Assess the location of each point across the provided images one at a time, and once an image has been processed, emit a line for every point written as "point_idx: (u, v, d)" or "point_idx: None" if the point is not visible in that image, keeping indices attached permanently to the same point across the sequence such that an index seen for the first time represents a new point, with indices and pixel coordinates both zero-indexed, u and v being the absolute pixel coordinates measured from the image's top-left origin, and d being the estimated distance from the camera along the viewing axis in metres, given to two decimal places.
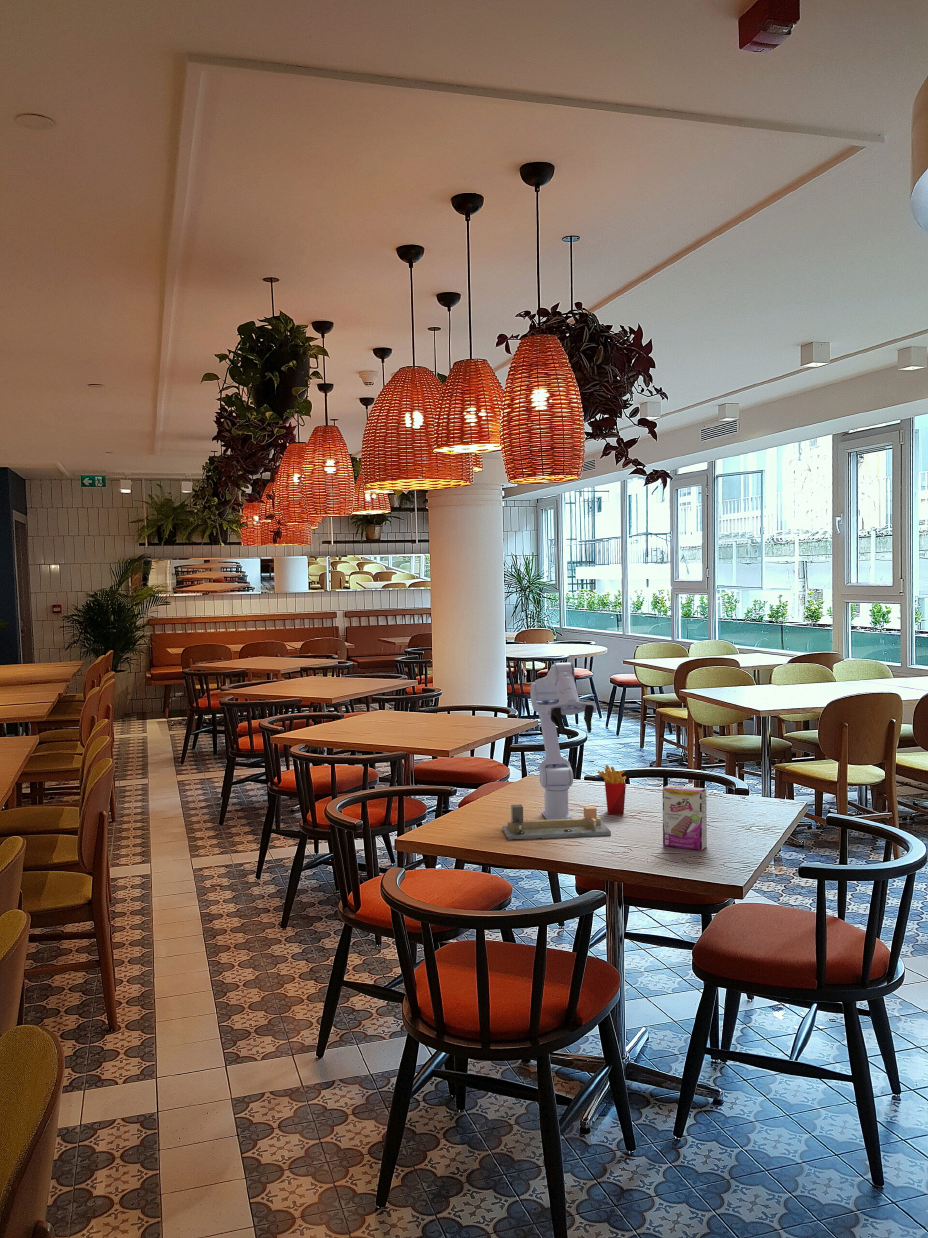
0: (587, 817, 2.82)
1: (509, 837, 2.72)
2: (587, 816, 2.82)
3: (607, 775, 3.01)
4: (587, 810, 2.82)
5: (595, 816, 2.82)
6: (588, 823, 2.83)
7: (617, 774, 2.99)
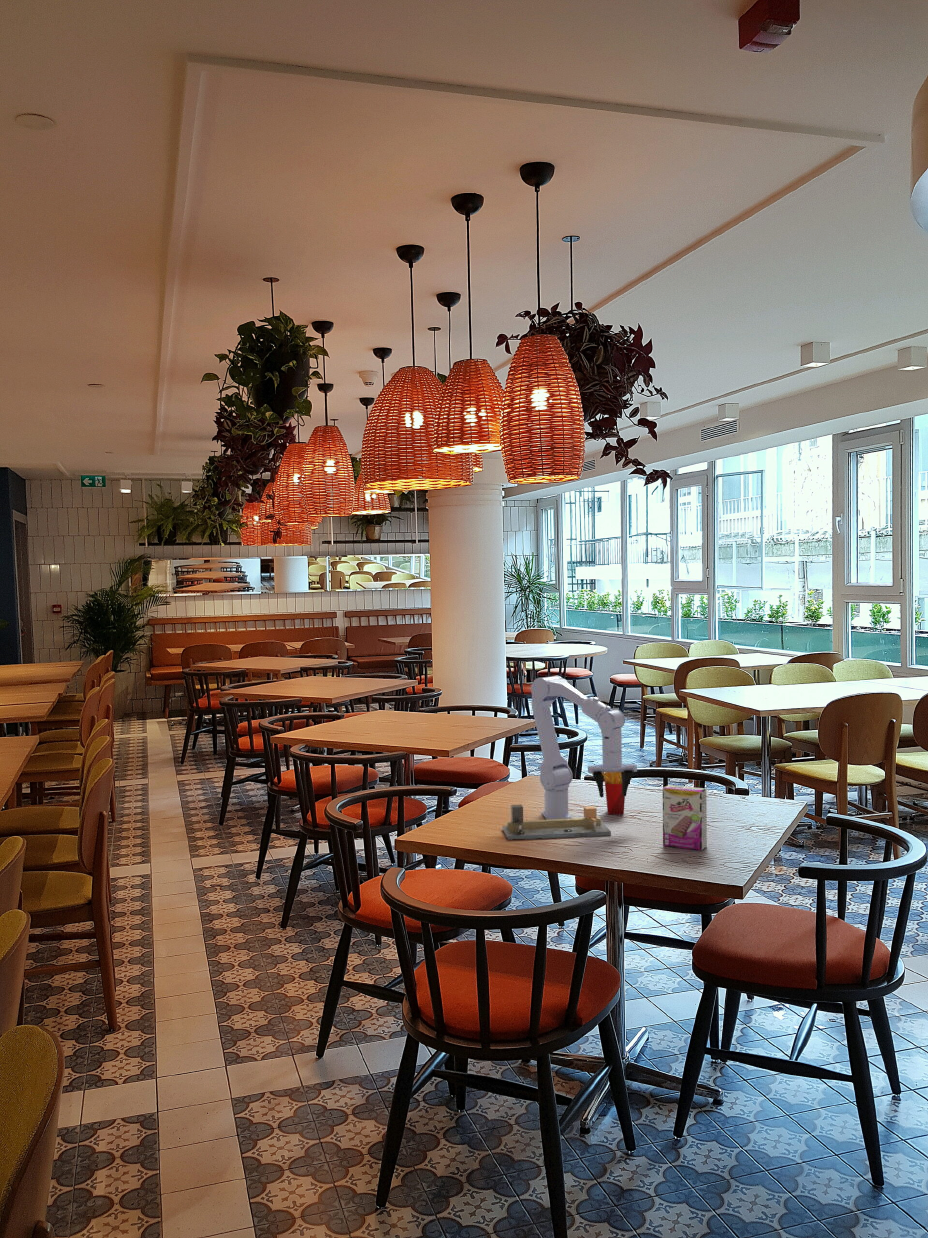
0: (587, 817, 2.82)
1: (509, 837, 2.72)
2: (587, 816, 2.82)
3: (607, 775, 3.01)
4: (587, 810, 2.82)
5: (595, 816, 2.82)
6: (588, 823, 2.83)
7: (617, 774, 2.99)
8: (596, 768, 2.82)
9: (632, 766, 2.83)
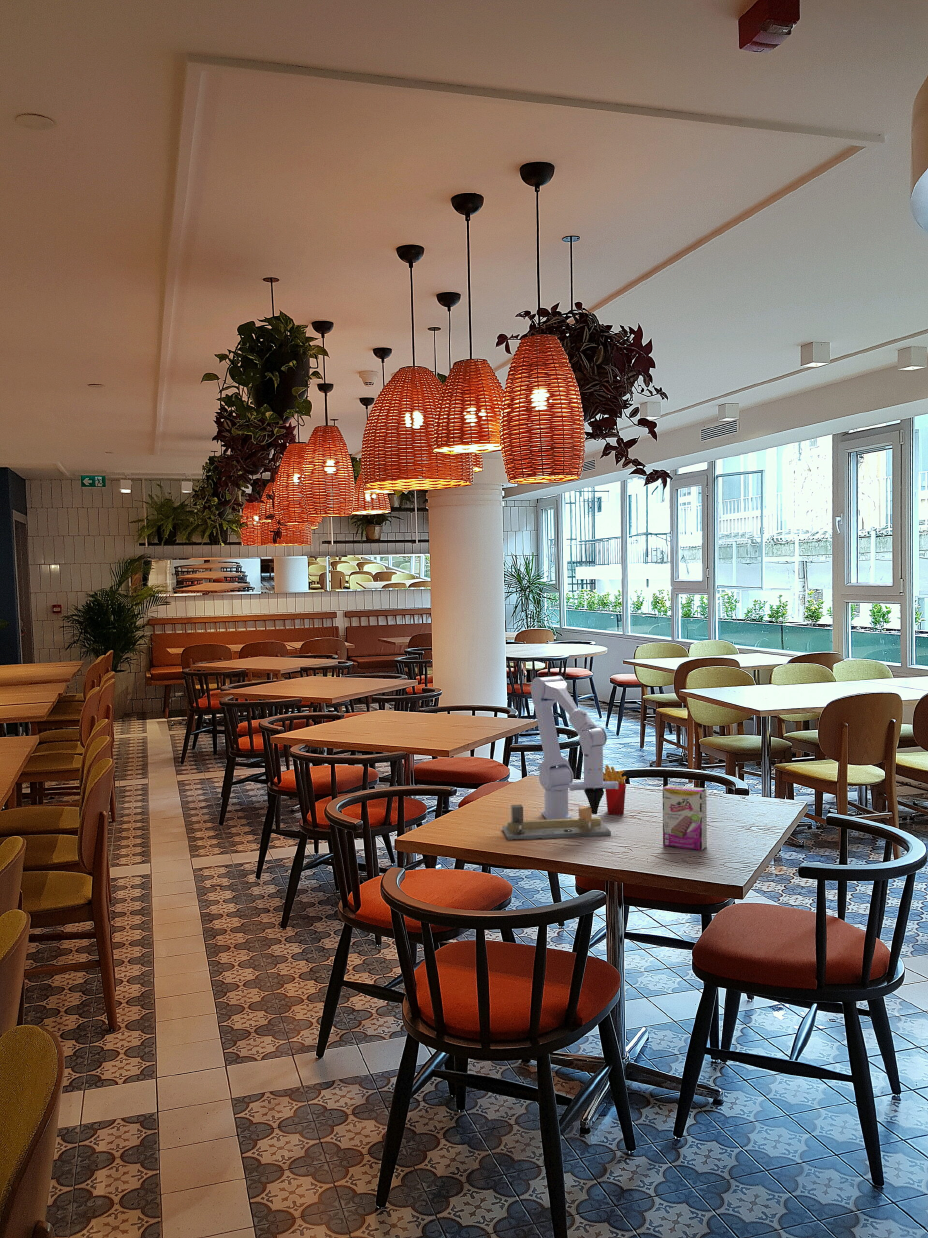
0: (582, 817, 2.82)
1: (509, 837, 2.72)
2: (582, 816, 2.82)
3: (607, 775, 3.01)
4: (582, 810, 2.82)
5: (590, 816, 2.82)
6: None
7: (617, 774, 2.99)
8: (577, 786, 2.82)
9: (613, 784, 2.83)
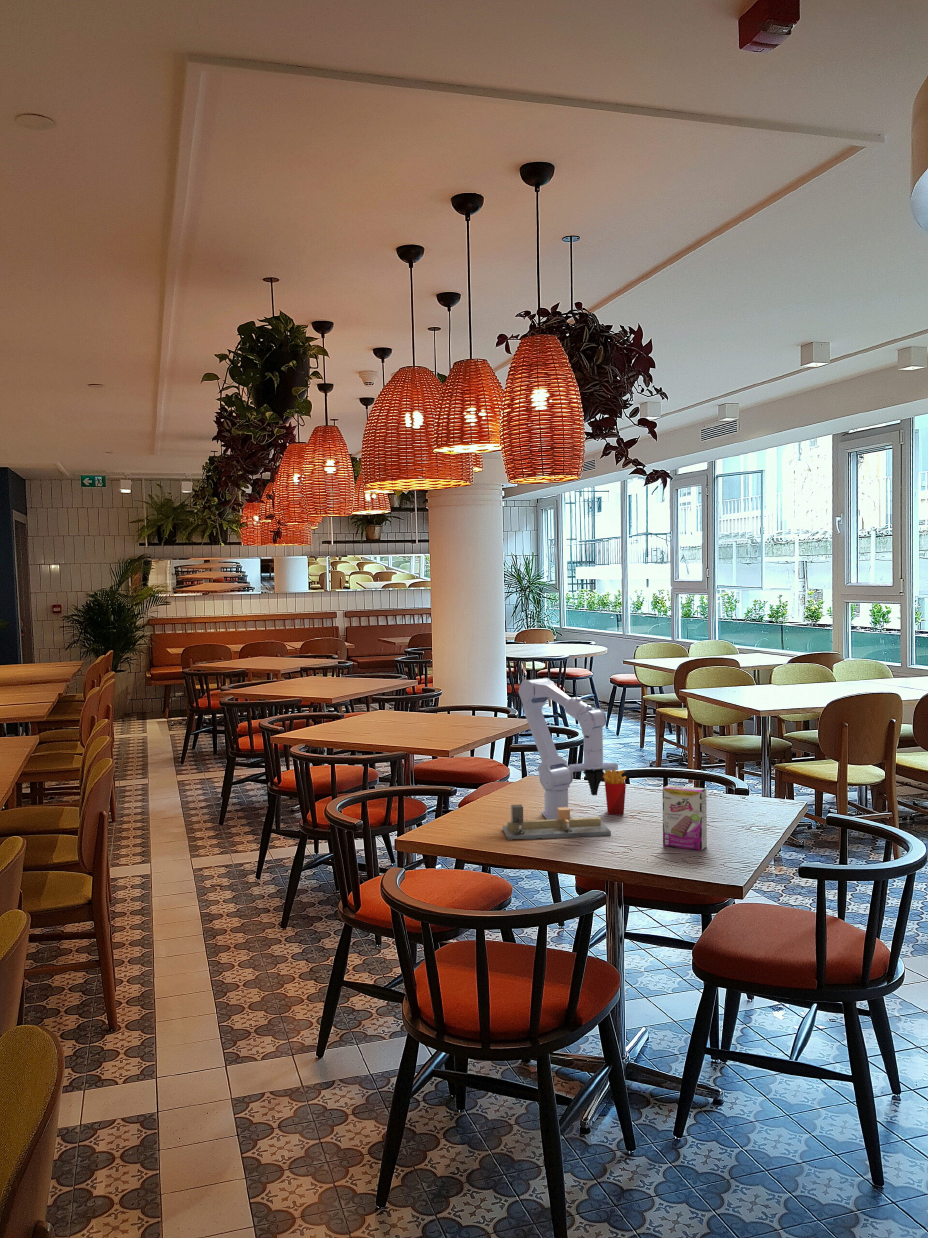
0: (560, 818, 2.81)
1: (509, 837, 2.72)
2: (560, 817, 2.81)
3: (607, 775, 3.01)
4: (560, 811, 2.81)
5: (569, 817, 2.81)
6: (588, 823, 2.83)
7: (617, 774, 2.99)
8: (577, 767, 2.85)
9: (613, 765, 2.86)
